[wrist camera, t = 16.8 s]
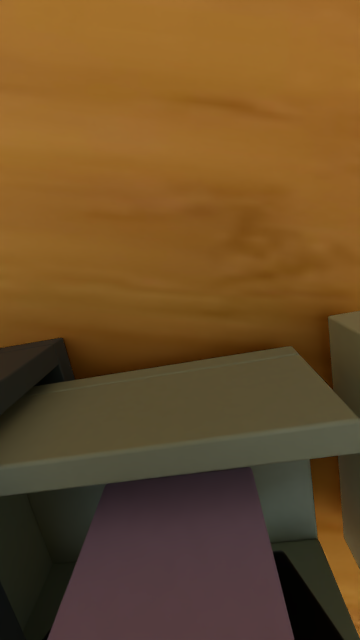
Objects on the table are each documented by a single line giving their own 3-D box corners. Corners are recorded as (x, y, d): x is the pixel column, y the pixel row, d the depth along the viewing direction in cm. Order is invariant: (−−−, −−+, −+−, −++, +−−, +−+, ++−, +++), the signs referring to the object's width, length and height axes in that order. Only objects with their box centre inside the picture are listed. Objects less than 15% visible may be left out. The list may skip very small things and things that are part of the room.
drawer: (521, 283, 9) (852, 323, 5) (501, 522, 11) (709, 712, 7) (-15, 372, 11) (-169, 466, 6) (57, 564, 13) (-18, 738, 9)
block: (251, 465, 8) (307, 686, 4) (268, 579, 9) (327, 849, 5) (105, 482, 8) (22, 699, 4) (136, 590, 9) (92, 847, 5)
